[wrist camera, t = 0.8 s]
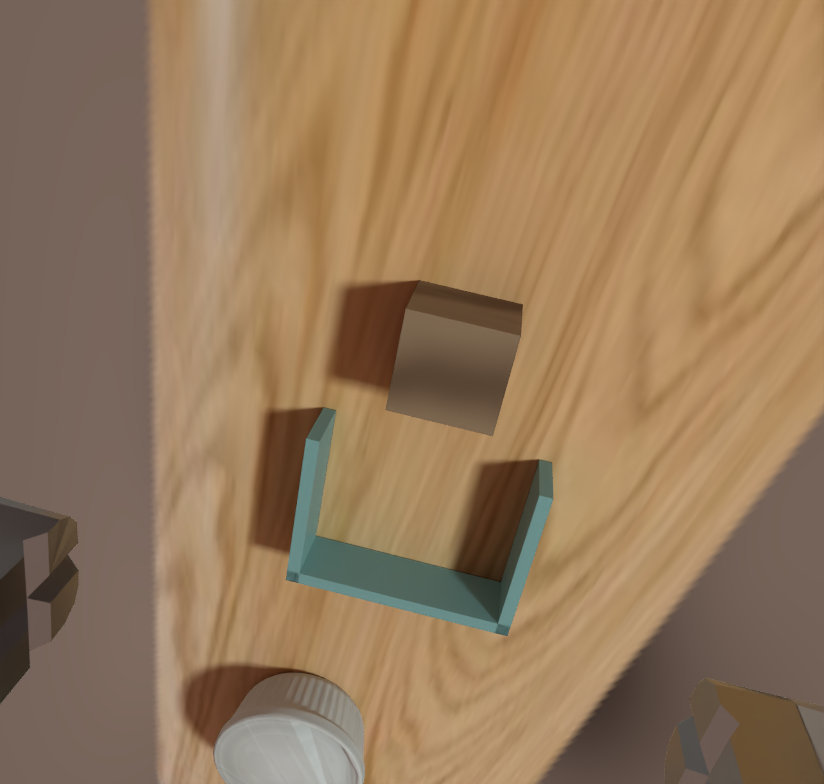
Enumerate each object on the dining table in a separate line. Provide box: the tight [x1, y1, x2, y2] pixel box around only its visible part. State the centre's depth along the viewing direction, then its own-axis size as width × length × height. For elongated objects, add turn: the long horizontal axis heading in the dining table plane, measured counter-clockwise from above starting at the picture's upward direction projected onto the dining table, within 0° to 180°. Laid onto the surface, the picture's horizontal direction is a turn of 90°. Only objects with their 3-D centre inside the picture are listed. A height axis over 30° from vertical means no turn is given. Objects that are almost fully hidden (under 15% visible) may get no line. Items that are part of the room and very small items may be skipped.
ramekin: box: [213, 673, 365, 784], centre depth 57 cm, size 11×11×5 cm
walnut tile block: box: [386, 280, 523, 436], centre depth 42 cm, size 6×6×5 cm
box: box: [286, 408, 553, 636], centre depth 47 cm, size 11×15×4 cm
